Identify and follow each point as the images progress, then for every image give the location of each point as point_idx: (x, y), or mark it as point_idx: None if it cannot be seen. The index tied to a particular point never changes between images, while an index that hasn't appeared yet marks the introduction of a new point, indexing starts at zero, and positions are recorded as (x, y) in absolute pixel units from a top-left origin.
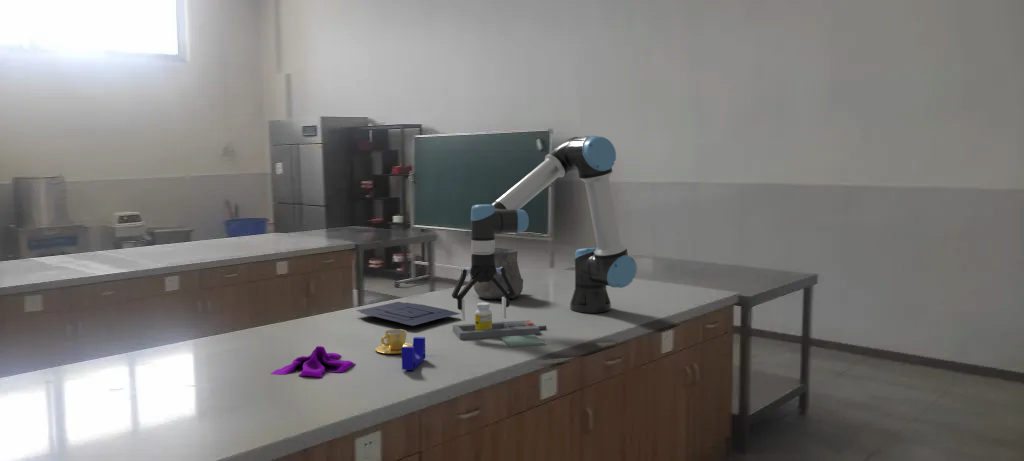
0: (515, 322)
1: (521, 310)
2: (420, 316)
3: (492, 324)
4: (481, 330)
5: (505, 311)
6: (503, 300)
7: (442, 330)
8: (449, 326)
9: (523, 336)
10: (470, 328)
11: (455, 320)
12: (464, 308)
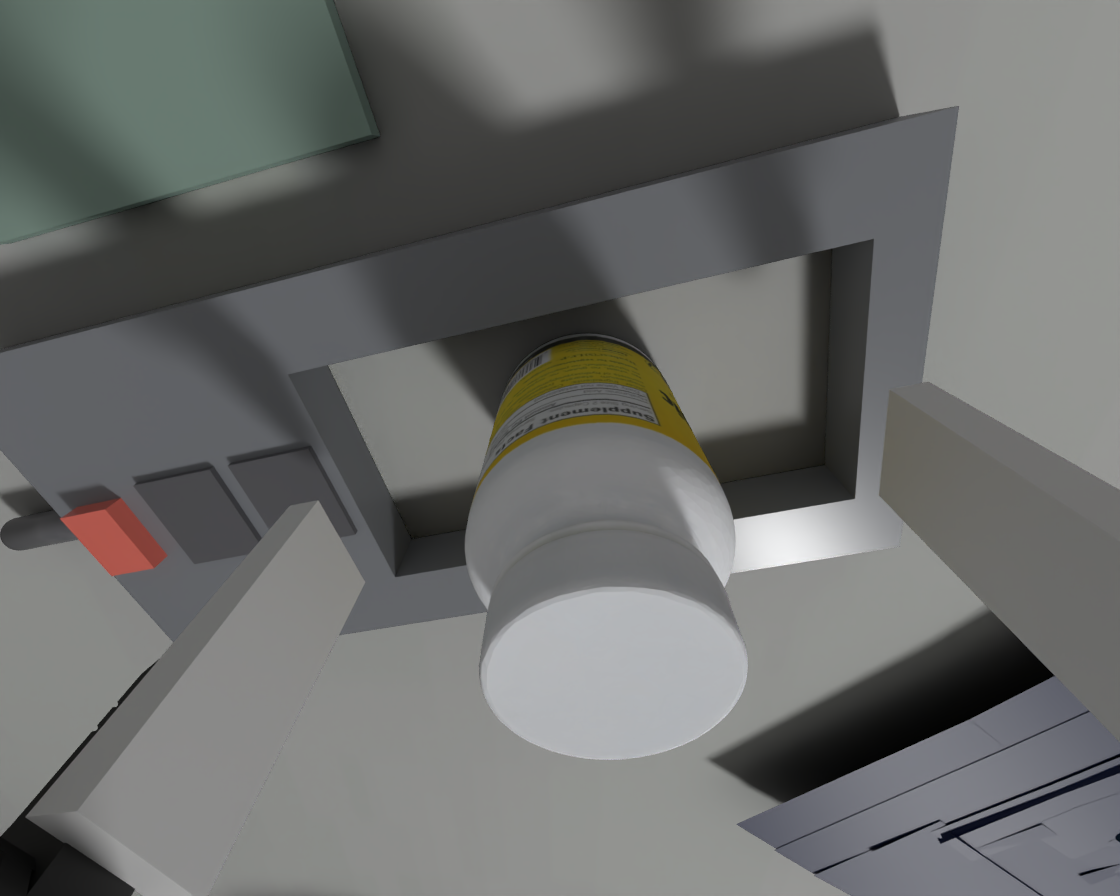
0: None
1: (370, 889)
2: (1083, 771)
3: None
4: (622, 279)
5: (245, 567)
6: (150, 763)
7: None
8: (849, 643)
9: (80, 144)
10: None
11: (767, 764)
12: (1059, 497)
